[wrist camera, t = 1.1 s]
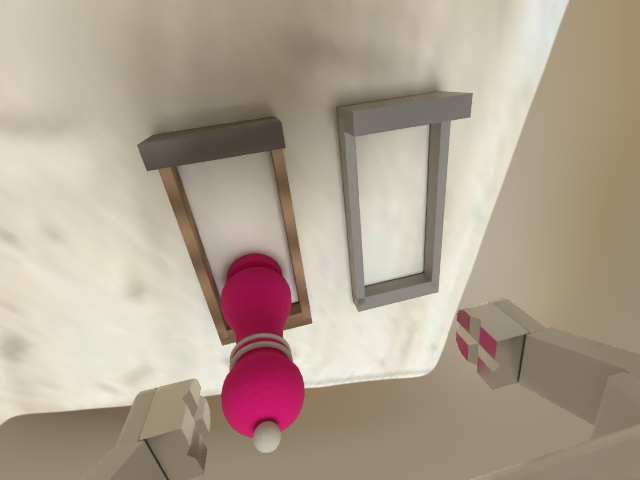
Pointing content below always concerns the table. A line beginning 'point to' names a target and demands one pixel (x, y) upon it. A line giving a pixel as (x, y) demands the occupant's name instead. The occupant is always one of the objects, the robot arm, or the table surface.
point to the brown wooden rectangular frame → (165, 157)
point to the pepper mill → (259, 353)
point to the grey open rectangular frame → (438, 114)
